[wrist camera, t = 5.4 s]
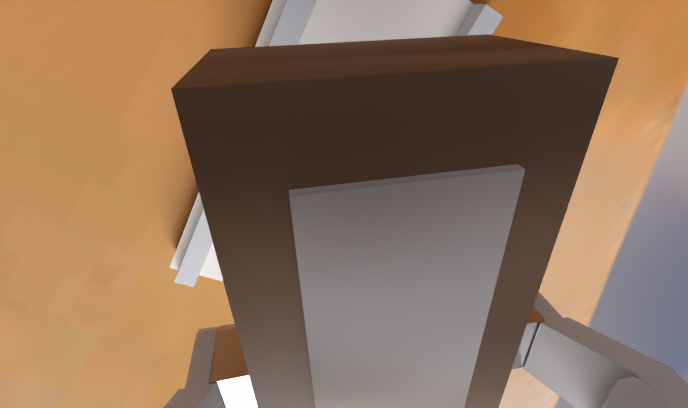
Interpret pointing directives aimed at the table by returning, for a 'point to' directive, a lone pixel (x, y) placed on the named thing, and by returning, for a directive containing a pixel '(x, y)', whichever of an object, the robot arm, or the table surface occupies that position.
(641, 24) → the table surface
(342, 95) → the picture frame
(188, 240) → the picture ledge
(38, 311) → the table surface
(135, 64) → the table surface
